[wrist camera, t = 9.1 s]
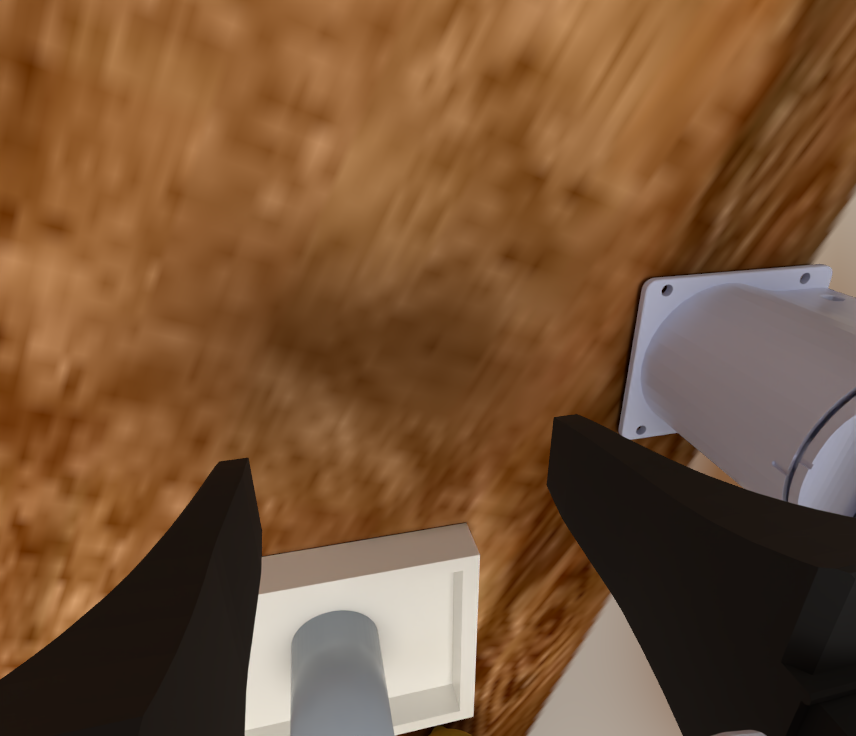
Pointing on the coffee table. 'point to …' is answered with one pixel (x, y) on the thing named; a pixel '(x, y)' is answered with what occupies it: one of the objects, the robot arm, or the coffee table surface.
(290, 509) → the coffee table surface
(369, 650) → the cylinder
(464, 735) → the lemon
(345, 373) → the coffee table surface
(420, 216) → the coffee table surface
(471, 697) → the tray
